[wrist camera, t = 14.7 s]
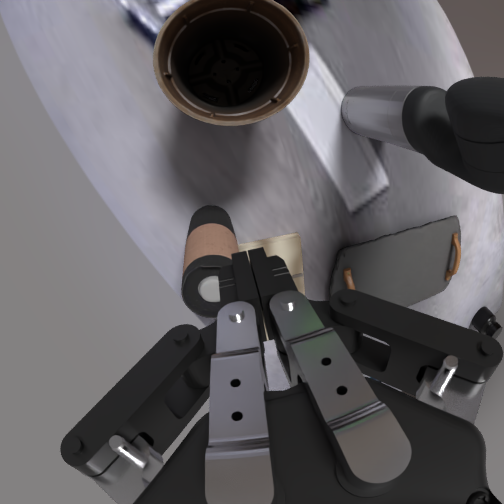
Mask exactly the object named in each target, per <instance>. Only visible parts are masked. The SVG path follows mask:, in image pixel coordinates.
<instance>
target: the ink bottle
mask: <svg viewBox="0 0 504 504" xmlns="http://www.w3.org/2000/svg"><path fill="white" fill-rule="evenodd" d="M472 325H473V326H474V327H475V328H476V329H477V330H478V331H479V333H482V334H485V335H488V336H490V337H492V338H494V339H496V338H497V337H498V335H499V334H500V332H501V330H502V327H501V326H500V325H499V324H498V323H497V322H496V317H495V315H494V314H493V313H492V312H491V311H490V310H489V309H488V308H487V307H482V308H481V309H480V310H479V311H478V312H477V313H476V315H475V316H474V318H473V320H472Z"/></svg>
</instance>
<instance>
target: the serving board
mask: <svg viewBox="0 0 504 504" xmlns="http://www.w3.org/2000/svg"><path fill="white" fill-rule="evenodd" d="M460 246H461V230H460V225H459V220H458V217H457V216H451V217H448V218H444V219H441V220H438V221H434V222H429V223H427V224H425V225H422V226H420V227H413V228H410V229H406V230H404V231H400V232H397V233H395V234H389V235H384V236H381V237H380V238H377V239H375V240H370V241H368V242H363V243H360V244H357V245H353V246H349V247H346V248H344V249H341V250H339V251H338V253H337V256H338V257H337V261H336V264H335V267H334V269H333V274H332V277H331V285H330V289H329V293H330V297H331V296H332V295H333V294H334V293H335V292H337V291H339V290H343V289H353V290H357V291H360V292H363V293H366V294H369V295H372V296H374V297H377V298H380V299H383V300H386V301H389V302H392V303H395V304H398V305H400V306H403V307H408V306H410V305H413V304H415V303H417V302H420V301H422V300H425V299H427V298H429V297H431V296H434V295H436V294H438V293H440V292H442V291H444V290H445V289H446V287H447V286H448V284H449V282H450V280H451V278H452V276H453V275H455V274H456V272H457V270H458V267H459V263H460V258H461V247H460Z"/></svg>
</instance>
